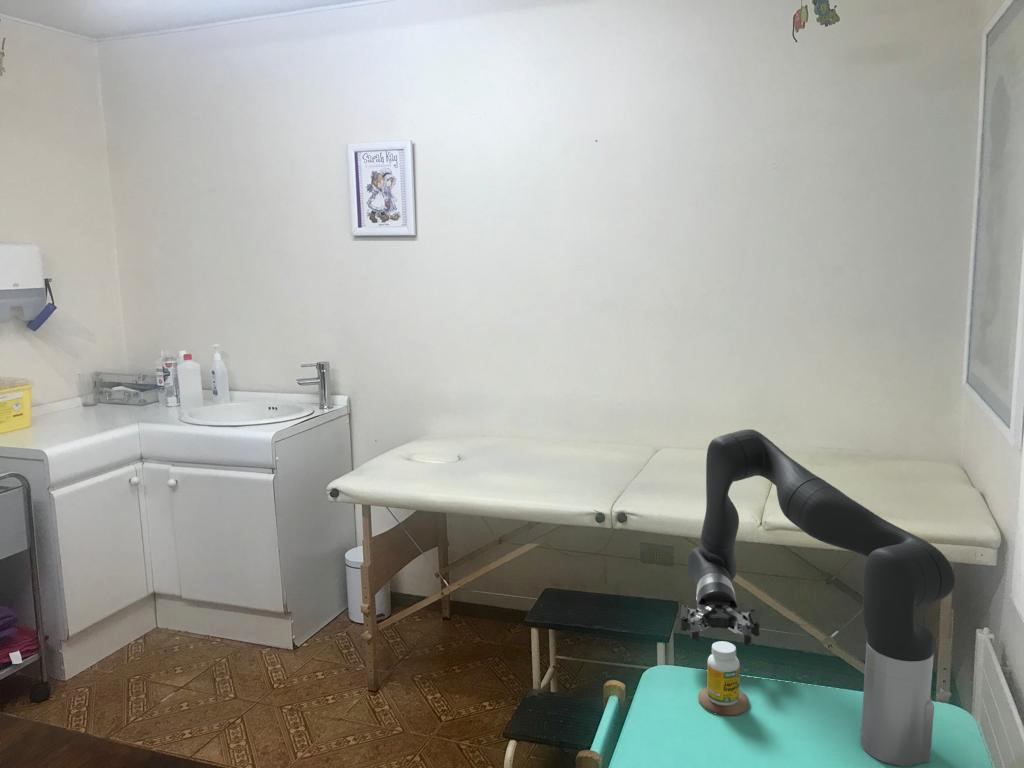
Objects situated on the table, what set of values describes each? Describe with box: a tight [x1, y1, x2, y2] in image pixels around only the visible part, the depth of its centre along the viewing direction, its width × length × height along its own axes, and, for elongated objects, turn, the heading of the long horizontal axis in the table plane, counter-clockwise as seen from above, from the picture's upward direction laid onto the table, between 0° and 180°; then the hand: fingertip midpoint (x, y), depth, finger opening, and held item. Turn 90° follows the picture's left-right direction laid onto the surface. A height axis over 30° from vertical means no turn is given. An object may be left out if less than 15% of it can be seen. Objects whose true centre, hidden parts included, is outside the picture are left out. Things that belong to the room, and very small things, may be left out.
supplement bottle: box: [706, 640, 741, 706], centre depth 139 cm, size 5×5×10 cm
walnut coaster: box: [697, 686, 750, 717], centre depth 140 cm, size 8×8×1 cm
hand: (721, 639), depth 145 cm, fingers open, 8 cm apart
